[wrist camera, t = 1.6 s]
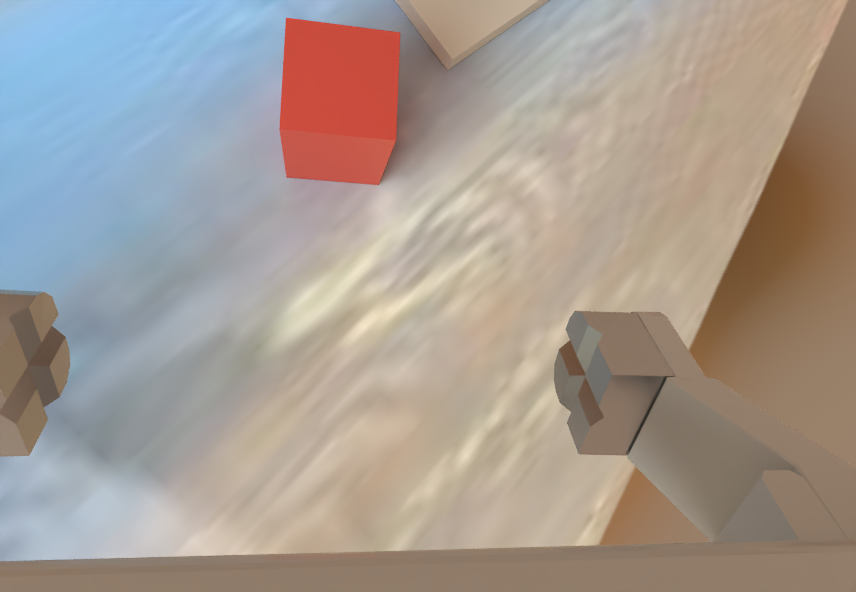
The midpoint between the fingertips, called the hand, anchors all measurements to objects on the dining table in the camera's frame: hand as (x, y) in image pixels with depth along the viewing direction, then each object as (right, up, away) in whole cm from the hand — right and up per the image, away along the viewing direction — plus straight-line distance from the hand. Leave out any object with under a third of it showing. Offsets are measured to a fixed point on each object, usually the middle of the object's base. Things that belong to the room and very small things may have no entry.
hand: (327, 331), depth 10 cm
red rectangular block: (-4, +10, +27) cm, 29 cm away
